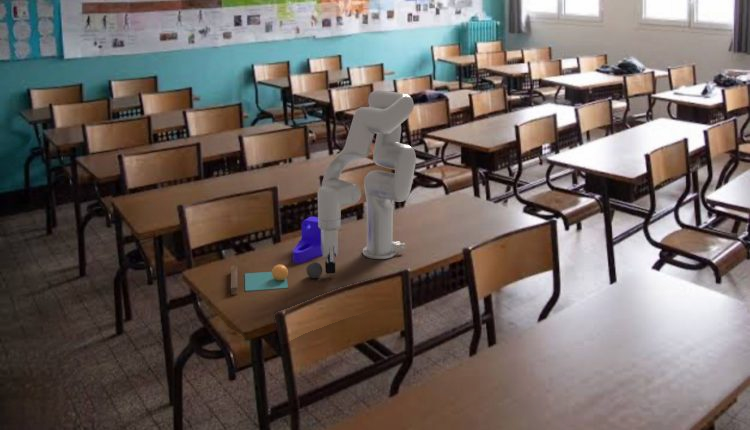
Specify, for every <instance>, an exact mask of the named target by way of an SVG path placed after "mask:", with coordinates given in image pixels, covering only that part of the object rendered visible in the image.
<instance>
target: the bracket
mask: <svg viewBox="0 0 750 430" xmlns="http://www.w3.org/2000/svg"><path fill="white" fill-rule="evenodd" d="M321 256H323V255H322V252H321V229H320V228H319V227H318V216H309V217H307V218H306V219H304V220H302V221H301V239H300V240H299V241H298V243H297V244H296V245H295V247H294V248H293V250H292V263H294V264H302V263H305V262H308V261H310V260H312V259H316V258H318V257H321Z"/></svg>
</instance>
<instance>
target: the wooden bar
mask: <svg viewBox="0 0 750 430" xmlns="http://www.w3.org/2000/svg"><path fill="white" fill-rule="evenodd" d="M238 274H239V273H238V265H231V267H230V294H231V295H233V296H234V295H238V291H239V290H238V289H239V288H238V286H239V285H238V276H239V275H238Z"/></svg>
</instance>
